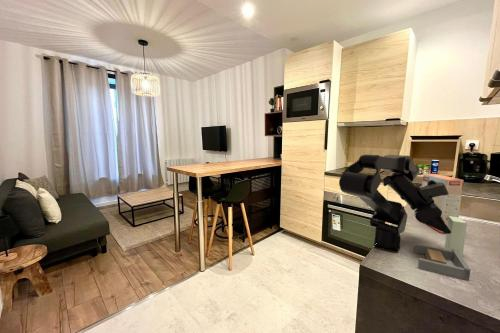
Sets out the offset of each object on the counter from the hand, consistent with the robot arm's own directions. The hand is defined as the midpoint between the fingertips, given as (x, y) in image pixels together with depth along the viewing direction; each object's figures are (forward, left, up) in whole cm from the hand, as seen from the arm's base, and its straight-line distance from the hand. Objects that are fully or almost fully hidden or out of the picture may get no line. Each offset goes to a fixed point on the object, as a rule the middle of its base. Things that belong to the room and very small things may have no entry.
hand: (446, 227), depth 66 cm
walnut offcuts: (-4, -10, -8) cm, 14 cm away
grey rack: (-3, -10, -8) cm, 13 cm away
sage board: (+2, 0, -8) cm, 8 cm away
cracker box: (+2, +24, -8) cm, 26 cm away
